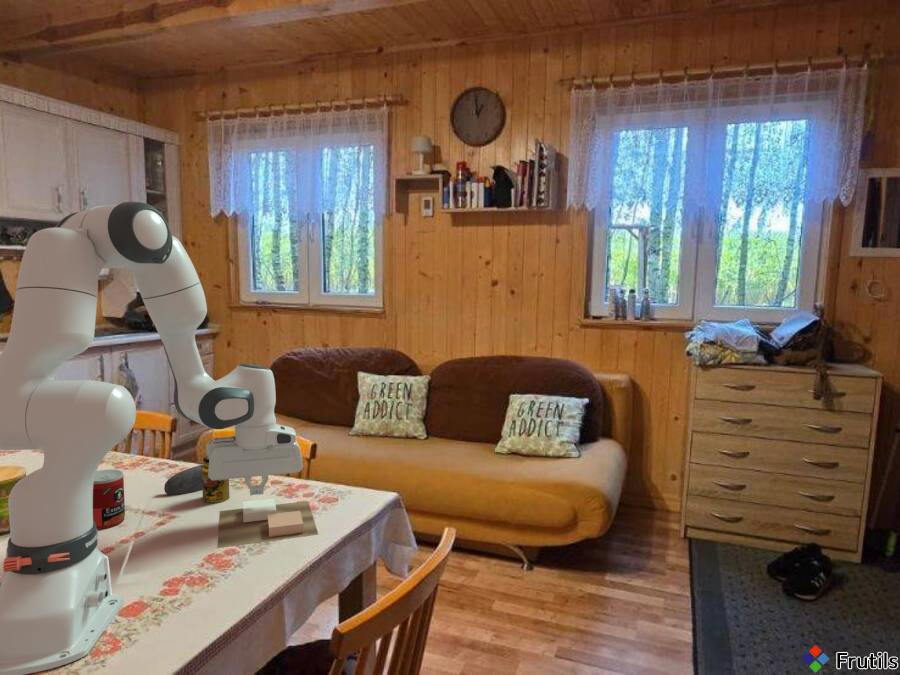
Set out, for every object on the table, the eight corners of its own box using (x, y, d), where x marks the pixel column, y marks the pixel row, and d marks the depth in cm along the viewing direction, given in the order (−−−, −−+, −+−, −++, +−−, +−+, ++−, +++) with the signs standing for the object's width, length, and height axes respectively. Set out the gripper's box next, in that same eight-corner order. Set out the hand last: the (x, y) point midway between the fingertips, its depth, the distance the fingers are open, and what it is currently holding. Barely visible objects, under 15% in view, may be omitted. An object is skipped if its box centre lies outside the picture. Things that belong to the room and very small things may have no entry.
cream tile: (243, 523, 128) (276, 519, 130) (243, 513, 127) (276, 509, 130) (243, 510, 134) (274, 507, 137) (242, 501, 134) (274, 498, 136)
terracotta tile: (269, 537, 121) (303, 533, 123) (269, 527, 121) (303, 523, 123) (267, 523, 128) (300, 519, 130) (267, 514, 127) (299, 510, 130)
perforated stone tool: (167, 503, 141) (166, 475, 140) (161, 496, 145) (160, 470, 144) (229, 489, 151) (228, 463, 150) (221, 483, 155) (220, 458, 154)
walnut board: (318, 539, 123) (318, 534, 123) (217, 553, 116) (217, 547, 116) (308, 505, 141) (308, 500, 141) (220, 515, 134) (219, 511, 134)
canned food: (107, 531, 125) (105, 482, 124) (76, 527, 126) (73, 479, 125) (133, 517, 132) (131, 470, 131) (103, 513, 134) (101, 467, 133)
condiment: (202, 511, 137) (200, 462, 135) (199, 498, 144) (197, 451, 143) (234, 506, 140) (233, 458, 139) (230, 493, 147) (229, 448, 146)
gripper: (204, 442, 123) (206, 504, 125) (303, 435, 130) (303, 494, 132) (206, 434, 129) (207, 494, 131) (300, 428, 136) (300, 484, 138)
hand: (256, 494), depth 131 cm, fingers closed
